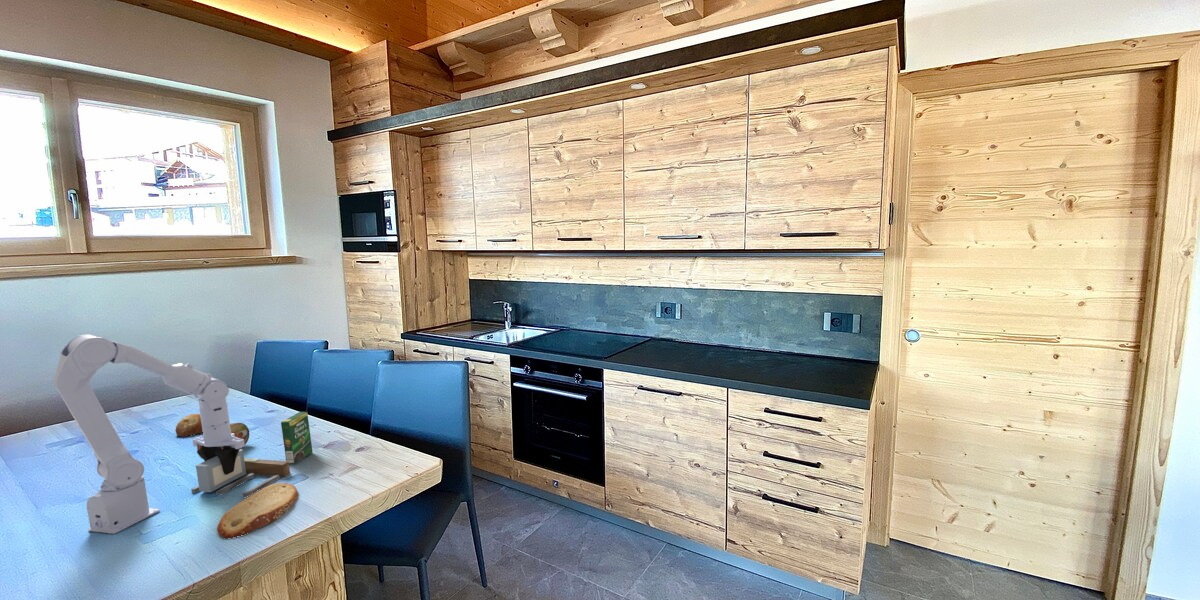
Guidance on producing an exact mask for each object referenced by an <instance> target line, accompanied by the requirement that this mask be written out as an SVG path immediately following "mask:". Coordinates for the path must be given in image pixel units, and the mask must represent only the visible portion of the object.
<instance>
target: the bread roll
mask: <svg viewBox="0 0 1200 600" xmlns="http://www.w3.org/2000/svg"><path fill="white" fill-rule="evenodd" d="M202 432H203V431H202V424H201V417H200V413H191V414H188V415H187V416H185V417H183V418H182V419H180V420H179V421H178V422H177V424H176V426H175V434H176V436H178V437H179V436H186V437H189V436H188V435H192V434H197V433H201V434H203V433H202ZM197 435H198V434H197ZM192 436H193V435H192Z"/></svg>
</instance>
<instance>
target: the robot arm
mask: <svg viewBox="0 0 1200 600" xmlns="http://www.w3.org/2000/svg"><path fill="white" fill-rule="evenodd" d="M108 363H111V364H126V363H127V364H131V365H133V366H136V367H138V368H141V369H144V370H145V371H149V372H151V373H154V374H156V375H159V376H160V377H162V381H163V384H164V385H167V386H169V387H171V388H174V389H175V390H179V391H182V392H184V393H186V394H189V395H193V396H194V397H195V399H196V398H197V399H198V405H199V408H198V409H199V414H200V417H201V424H202V431H203V433H202V436H197V437H195V438H192V446H193V447H197V446H199V445H200V446H202V449H200V450H198V451H197V450H196V453H197V455H198V456H199V455H200V456H201V457H202V458H203V459H202V458H201V457H200V456H199V457H200V458H201V459H202V460H203V462H205V461H207V460H209V459H211V458H213V457H216V456H218V458H219V459H220V462H221V464H222V469H223V472H224V474H225V475H227V474H229V473H231V472H233V471H234V466H235V461H236V457H237V454H238V452H239V450H240V448H241V449H243V447H245V446H246V445H245V444H244V439H239V438H237V437H234V436H235V434H234V433H231V429H230V424H231V423H230V417H229V410H228V403H227V396H228V395H229V392H230V387H228V385H227V384H226V382H225V381H223V380H220V379H218V378H215V377H213V374H211V373H209V372H206V373H205V372H202V371H199V370H198V369H195V368H194V365H193V364H190V363H188V362H187V363H185V364H184V363H182V362H179V363H176V364H169V363H168V362H165V361H164V360H161V359H160V358H157V357H154V356H153V355H151V354H149V353H147V352H144V351H142V350H141V349H138V348H136V347H134V346H131V345H127V344H124V343H121V342H117V341H115V340H114V341H113V340H110V339H108V338H104V337H100V336H98V335H95V334H91V333H90V334H87V333H85V334H79V335H77V336H75V337H73V338H72V339H70V341H69V342H68V343H67V344H66V345H64V347H63V348H62V349H61V351H60V354H59V361H58V363H57V366H56V369H55V373H54V376H53V380H52V383H53V386H54V387H55V389H56V390H57V392H58V394H59V395H60V397H61V399H62V401H63V402H64V403H65V406H66V407H67V409H68V410H69V412H70V415H71V416H72V417H73V420H74V421H75V423H76V424H77V426H78V428H79V429H80V431H81V433H82V434H83V437H84V438H85V439H86V441H87V442H88V444H89V446H90V448H91V449H92V451H93V454H94V458H95V459H96V461H97V464H96V465H97V466H96V472H97V474H98V475H99V476H100V477H101V478H103V479H104V480H103V481H102V483H101V485H100V490H99V491H97V493H95V494H94V495H92V496H90V497H89V498H88V499H87V501H86V510H87V511H86V512H87V517H88V522H89V528H88V529H87V530H88V531H89V532H94V533H95V532H96V533H105V534H113V535H114V534H117V533H120V532H121V531H123V530H125V529H128V528H129V527H132V526H133V525H134V524H137V523H139V522H141V521H143V520H145V519H147V518H148V517H151V516H152V515H153V516H154V515H155V514H157V513H159V512H160V508H152V507H149V501H148V494H147V487H146V482H145V476H144V474H145V473H144V472H145V466H144V464H143V463H142V462H141V461H140V460H138V459H136V458H135V457H134V456H133V455H132V454H131V452H130V451H129V450H128V449H127V447H126V446H125V444H124V443H123V442H122V440H121V438H120V436H119V434H118V433H117V431H116V429H115V428H114V425H113V424H112V422H111V420H110V419H109V417H108V415H107V414H106V412H105V410H104V408H103V407H102V405H101V403H100V401H99V400H98V398H97V396H96V394H95V392H94V390H93V388H92V387H91V385H90V384H89V382H90V381H91V379H92V378H93V377H94V376H95V374H96V373H97V372H98V370H99V369H101V368H102V367H104V366H106V364H108ZM222 447H223V449H222Z"/></svg>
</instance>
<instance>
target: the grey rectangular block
mask: <svg viewBox="0 0 1200 600" xmlns="http://www.w3.org/2000/svg"><path fill="white" fill-rule="evenodd" d="M244 458H245V455H244V450H243V448H241V449H240V450H239V452H238V454H237V457H236V461H235V466H234V471H233V472H231V473H229V474H227V475H225V474H224V472H223V469H222V464H221V462H220V459H219V458H218V456H216V457H213V458H211V459H209V460H207V461H202V462H201V463H198V464H196V465H195V470H196V477H197V483H198V486H199V491H198V492H204V493H212V492H214V491H217V490H219V489H220V488H221V487H222V488H223V486H224V487H225V485H226V486H227V484H228V485H229V484H230V483H231V482H234V481H236V480H238V479H240V478H241V477H244V476H246V475H247V474H246V468H245V461H244Z"/></svg>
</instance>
